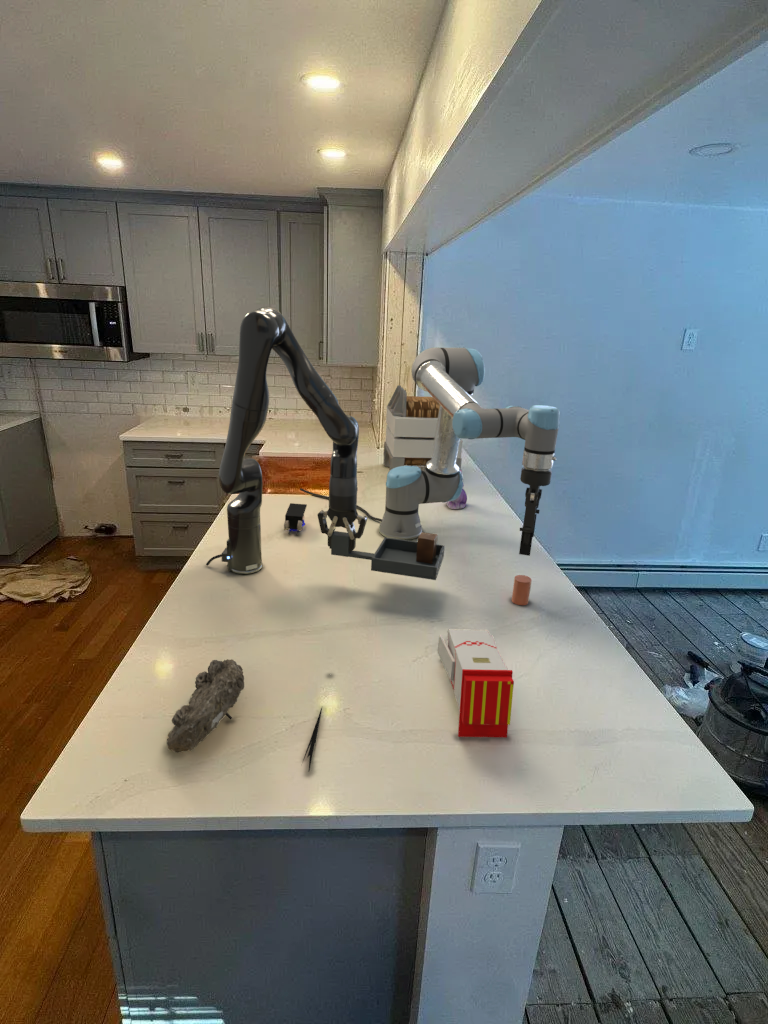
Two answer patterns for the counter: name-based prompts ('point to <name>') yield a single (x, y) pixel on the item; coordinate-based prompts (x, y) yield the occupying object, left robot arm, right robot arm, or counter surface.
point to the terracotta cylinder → (521, 590)
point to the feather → (313, 740)
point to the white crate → (411, 430)
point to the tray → (391, 556)
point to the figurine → (458, 500)
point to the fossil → (206, 705)
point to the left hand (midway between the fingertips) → (341, 548)
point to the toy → (478, 682)
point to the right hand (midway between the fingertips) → (526, 545)
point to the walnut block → (426, 547)
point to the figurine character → (295, 517)
